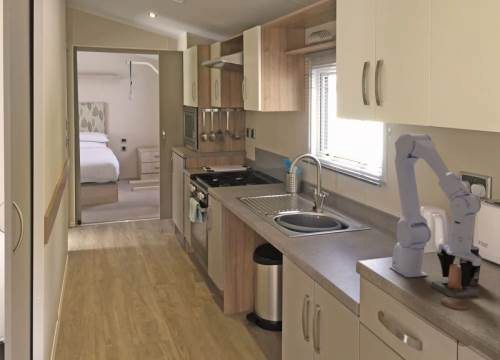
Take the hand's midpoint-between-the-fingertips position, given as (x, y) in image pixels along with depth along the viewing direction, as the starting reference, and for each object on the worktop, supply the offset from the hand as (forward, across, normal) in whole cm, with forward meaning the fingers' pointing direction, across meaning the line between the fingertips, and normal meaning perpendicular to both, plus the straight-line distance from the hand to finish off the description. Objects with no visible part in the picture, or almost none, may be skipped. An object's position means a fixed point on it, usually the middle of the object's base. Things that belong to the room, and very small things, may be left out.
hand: (455, 281), depth 145 cm
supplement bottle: (+3, -5, +10) cm, 11 cm away
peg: (+3, 0, 0) cm, 3 cm away
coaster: (+3, +8, -7) cm, 11 cm away
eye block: (+3, 0, 0) cm, 3 cm away
